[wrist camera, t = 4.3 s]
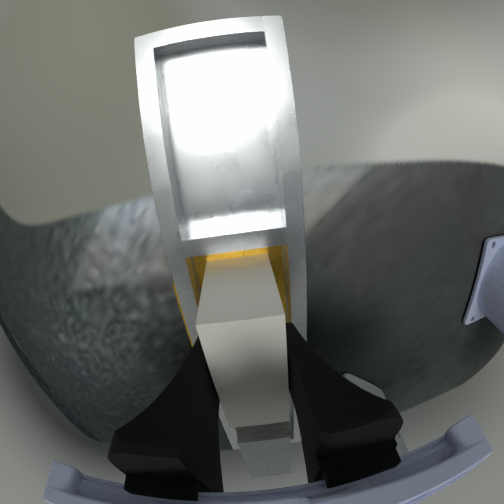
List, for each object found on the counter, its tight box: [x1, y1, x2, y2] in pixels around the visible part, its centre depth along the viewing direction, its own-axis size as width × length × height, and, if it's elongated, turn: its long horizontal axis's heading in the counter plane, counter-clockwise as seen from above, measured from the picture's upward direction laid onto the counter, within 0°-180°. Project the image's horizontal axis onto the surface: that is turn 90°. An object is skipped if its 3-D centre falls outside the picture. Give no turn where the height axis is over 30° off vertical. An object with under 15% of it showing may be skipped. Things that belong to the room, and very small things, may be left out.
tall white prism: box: [196, 253, 290, 428], centre depth 13 cm, size 3×7×5 cm, turn 6°
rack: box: [134, 16, 307, 477], centre depth 13 cm, size 6×29×6 cm, turn 6°
